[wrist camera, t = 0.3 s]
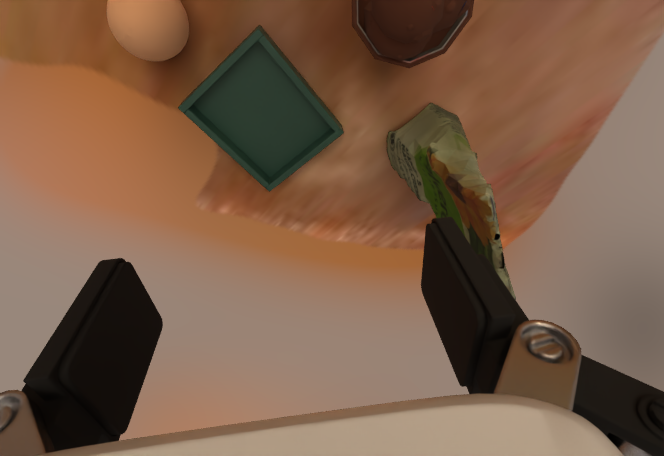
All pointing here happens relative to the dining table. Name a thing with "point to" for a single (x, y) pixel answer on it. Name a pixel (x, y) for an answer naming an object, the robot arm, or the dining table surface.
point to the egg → (149, 27)
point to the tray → (262, 111)
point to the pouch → (449, 179)
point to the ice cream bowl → (409, 27)
